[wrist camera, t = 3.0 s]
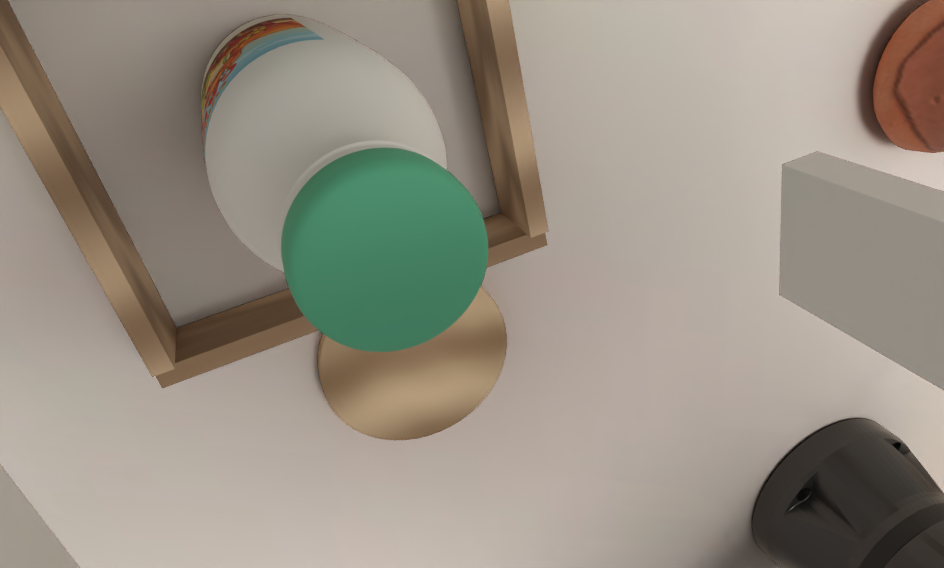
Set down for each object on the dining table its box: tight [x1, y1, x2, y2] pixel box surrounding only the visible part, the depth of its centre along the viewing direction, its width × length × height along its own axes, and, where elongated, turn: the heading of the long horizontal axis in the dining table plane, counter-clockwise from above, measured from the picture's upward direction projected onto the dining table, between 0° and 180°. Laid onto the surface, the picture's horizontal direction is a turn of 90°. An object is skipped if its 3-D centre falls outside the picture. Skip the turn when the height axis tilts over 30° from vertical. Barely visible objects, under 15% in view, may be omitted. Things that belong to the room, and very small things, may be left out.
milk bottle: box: [201, 15, 488, 352], centre depth 23 cm, size 8×8×20 cm
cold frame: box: [0, 0, 548, 388], centre depth 30 cm, size 20×20×4 cm
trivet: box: [318, 286, 507, 440], centre depth 39 cm, size 11×11×1 cm
